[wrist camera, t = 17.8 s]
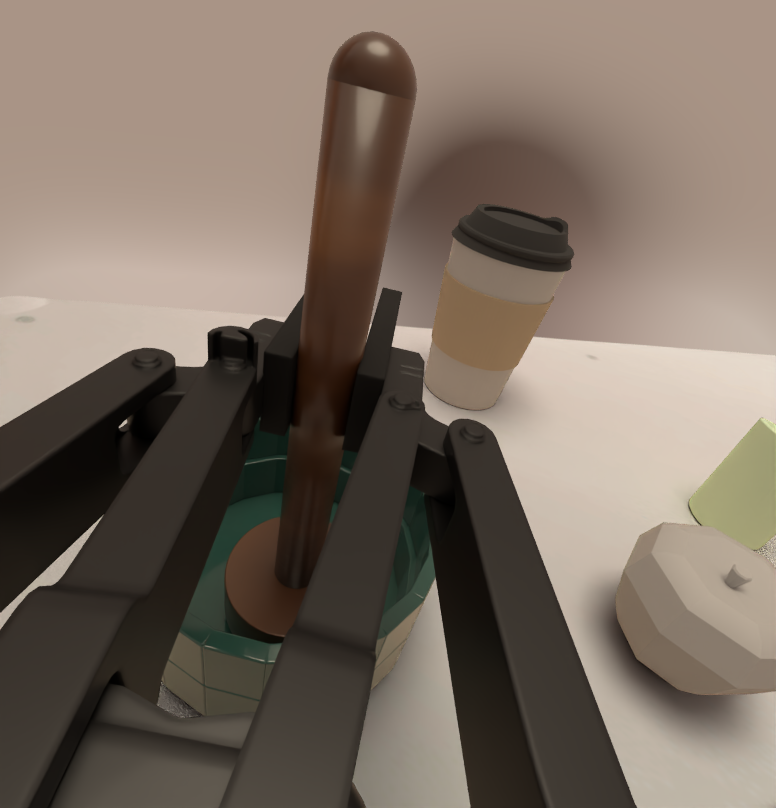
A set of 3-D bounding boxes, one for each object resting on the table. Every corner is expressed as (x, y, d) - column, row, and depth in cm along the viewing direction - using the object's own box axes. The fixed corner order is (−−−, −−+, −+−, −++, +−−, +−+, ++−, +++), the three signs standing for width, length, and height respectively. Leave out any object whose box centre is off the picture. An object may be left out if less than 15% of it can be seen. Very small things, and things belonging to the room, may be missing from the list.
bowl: (99, 758, 15) (63, 678, 12) (175, 488, 25) (167, 401, 21) (437, 719, 18) (485, 647, 15) (388, 493, 28) (411, 417, 24)
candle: (728, 498, 35) (806, 416, 30) (778, 553, 31) (877, 468, 26) (674, 493, 34) (745, 407, 29) (718, 549, 30) (809, 460, 25)
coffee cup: (423, 413, 36) (486, 218, 27) (403, 355, 43) (447, 186, 34) (525, 421, 38) (612, 243, 29) (489, 364, 45) (551, 207, 36)
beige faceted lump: (685, 771, 19) (800, 706, 15) (554, 602, 24) (614, 523, 20) (773, 691, 22) (882, 622, 19) (643, 561, 28) (708, 487, 24)
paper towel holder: (215, 669, 17) (198, -41, 6) (232, 541, 21) (240, 3, 10) (363, 658, 18) (580, 74, 7) (350, 541, 22) (470, 69, 11)
